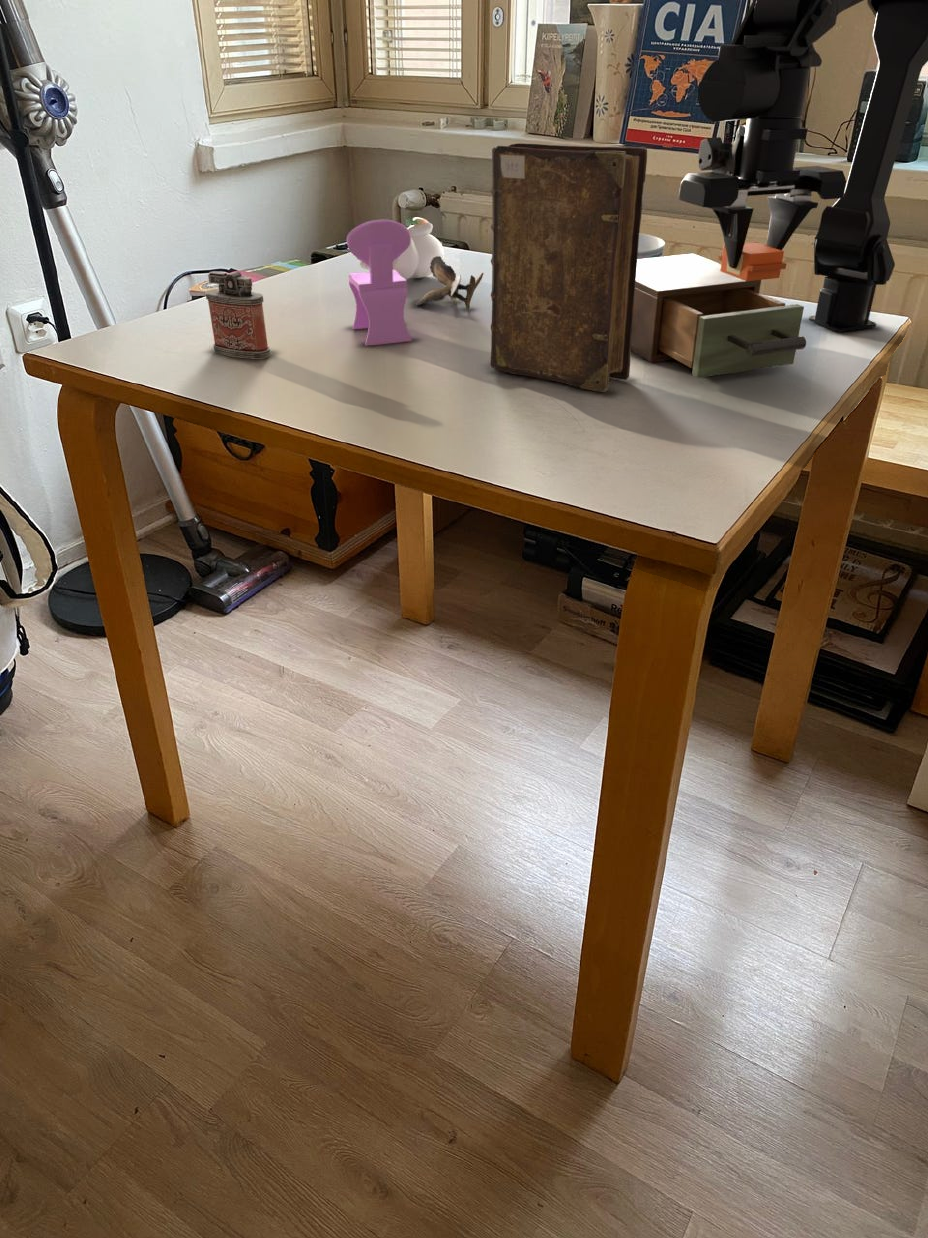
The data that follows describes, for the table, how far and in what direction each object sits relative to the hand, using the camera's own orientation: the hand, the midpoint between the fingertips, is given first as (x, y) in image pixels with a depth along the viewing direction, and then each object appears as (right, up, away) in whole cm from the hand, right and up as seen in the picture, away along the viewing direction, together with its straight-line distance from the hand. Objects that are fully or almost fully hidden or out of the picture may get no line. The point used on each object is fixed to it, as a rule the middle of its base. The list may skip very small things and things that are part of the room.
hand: (750, 265), depth 111 cm
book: (-23, -12, +3) cm, 26 cm away
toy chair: (-45, -3, +17) cm, 48 cm away
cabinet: (-6, -4, +14) cm, 16 cm away
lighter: (-62, -7, +11) cm, 64 cm away
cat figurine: (-44, +14, +43) cm, 62 cm away
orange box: (0, -1, +1) cm, 1 cm away
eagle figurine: (-36, +5, +29) cm, 47 cm away
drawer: (-2, -10, +4) cm, 11 cm away
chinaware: (-12, +8, +33) cm, 36 cm away
